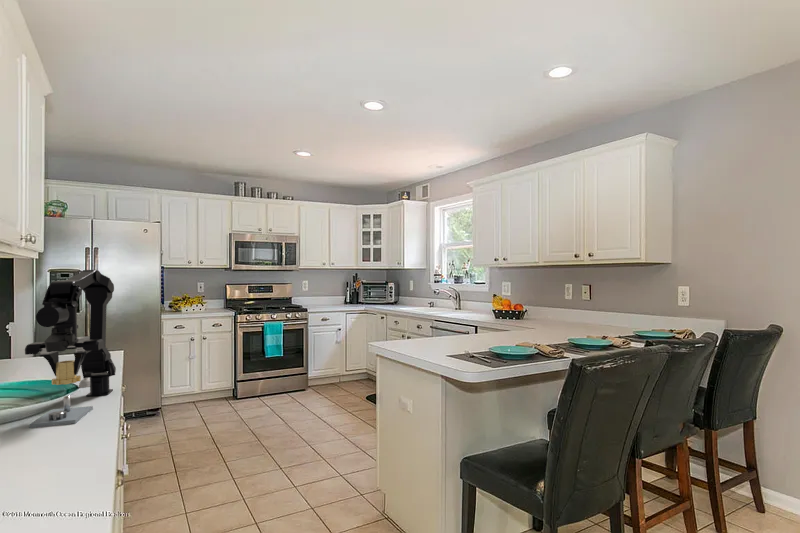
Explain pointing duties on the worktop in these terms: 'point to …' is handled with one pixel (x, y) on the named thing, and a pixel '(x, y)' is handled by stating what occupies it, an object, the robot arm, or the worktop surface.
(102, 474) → the worktop surface
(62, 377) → the planet gear
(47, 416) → the plate
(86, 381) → the chalice
